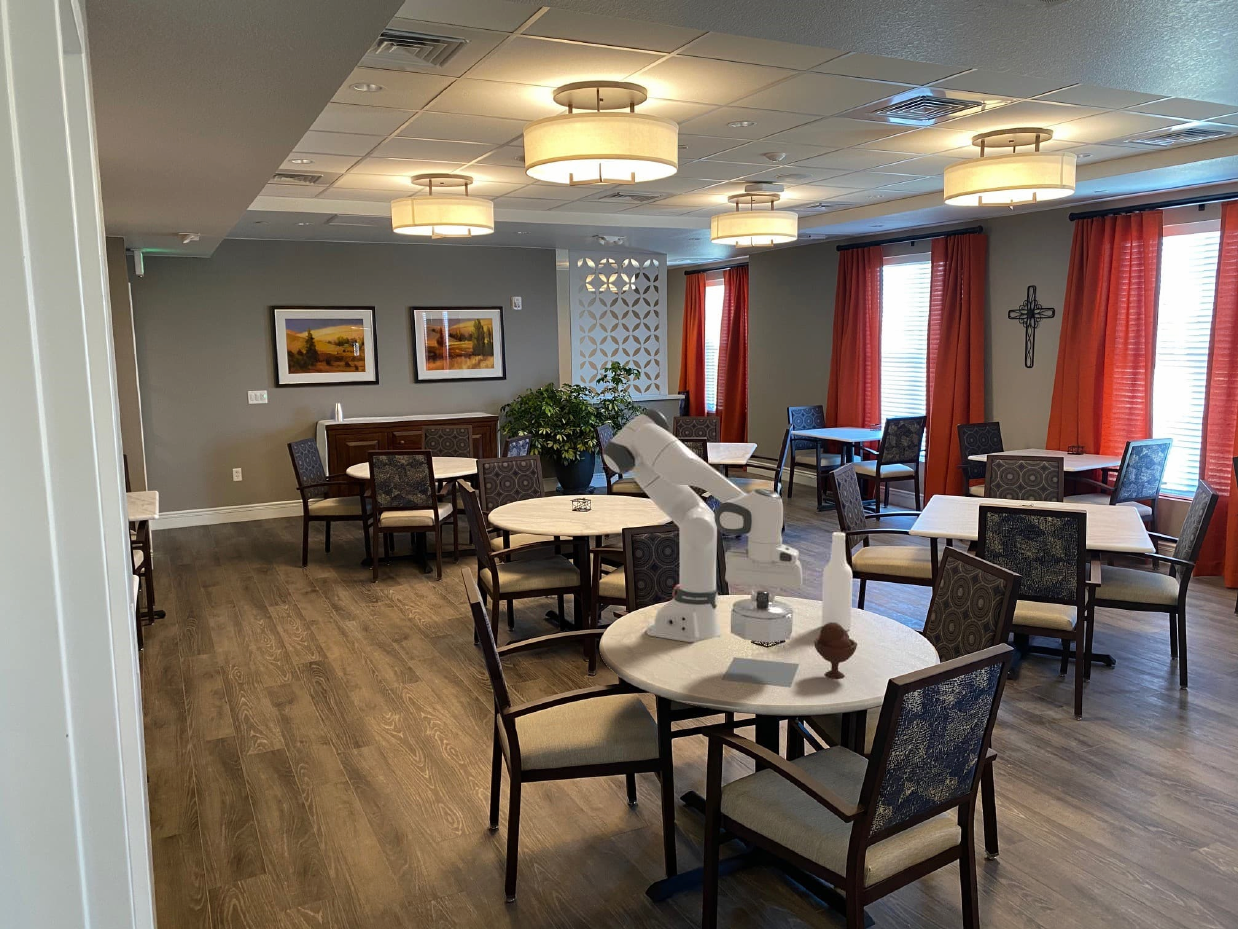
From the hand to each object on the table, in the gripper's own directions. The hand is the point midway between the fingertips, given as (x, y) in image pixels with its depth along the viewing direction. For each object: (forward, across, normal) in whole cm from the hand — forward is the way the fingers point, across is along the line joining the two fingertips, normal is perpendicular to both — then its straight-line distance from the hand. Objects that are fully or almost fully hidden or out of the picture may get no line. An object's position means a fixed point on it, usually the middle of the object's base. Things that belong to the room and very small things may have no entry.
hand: (762, 601), depth 241 cm
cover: (+8, 0, 0) cm, 8 cm away
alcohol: (+19, +17, +46) cm, 52 cm away
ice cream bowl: (+19, +20, +2) cm, 28 cm away
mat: (+20, 0, 0) cm, 20 cm away
